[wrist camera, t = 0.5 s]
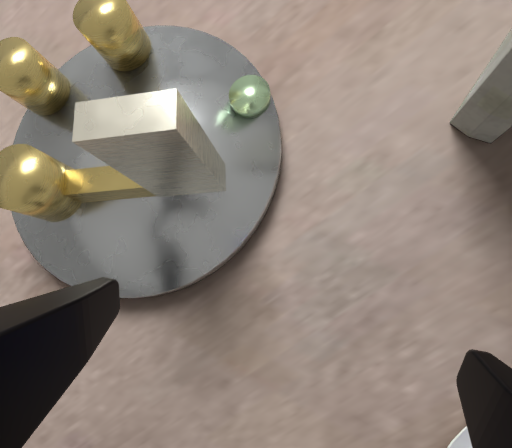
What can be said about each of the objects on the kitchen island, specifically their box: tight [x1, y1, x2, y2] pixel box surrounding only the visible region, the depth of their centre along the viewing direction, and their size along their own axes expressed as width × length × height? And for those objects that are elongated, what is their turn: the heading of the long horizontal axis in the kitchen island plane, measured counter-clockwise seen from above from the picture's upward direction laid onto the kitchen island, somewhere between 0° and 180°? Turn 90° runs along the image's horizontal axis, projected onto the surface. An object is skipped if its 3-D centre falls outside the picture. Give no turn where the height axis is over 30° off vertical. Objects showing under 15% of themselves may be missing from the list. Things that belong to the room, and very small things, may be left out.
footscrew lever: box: [0, 88, 226, 222], centre depth 20 cm, size 15×4×9 cm, turn 92°
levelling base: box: [0, 0, 282, 298], centre depth 24 cm, size 22×22×5 cm
